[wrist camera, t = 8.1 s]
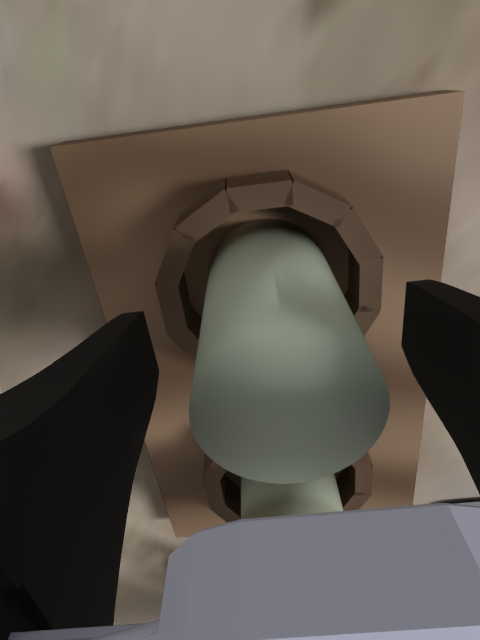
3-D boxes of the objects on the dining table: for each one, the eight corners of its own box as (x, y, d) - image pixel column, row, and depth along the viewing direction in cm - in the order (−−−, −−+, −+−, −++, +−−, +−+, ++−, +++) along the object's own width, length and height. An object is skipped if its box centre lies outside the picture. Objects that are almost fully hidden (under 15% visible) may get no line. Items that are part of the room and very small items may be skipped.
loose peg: (325, 320, 15) (382, 477, 9) (216, 329, 16) (204, 489, 9) (325, 212, 13) (399, 321, 7) (201, 224, 14) (172, 341, 8)
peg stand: (402, 497, 22) (481, 695, 15) (178, 516, 23) (152, 714, 16) (446, 89, 13) (708, 101, 6) (63, 142, 13) (-131, 211, 6)
